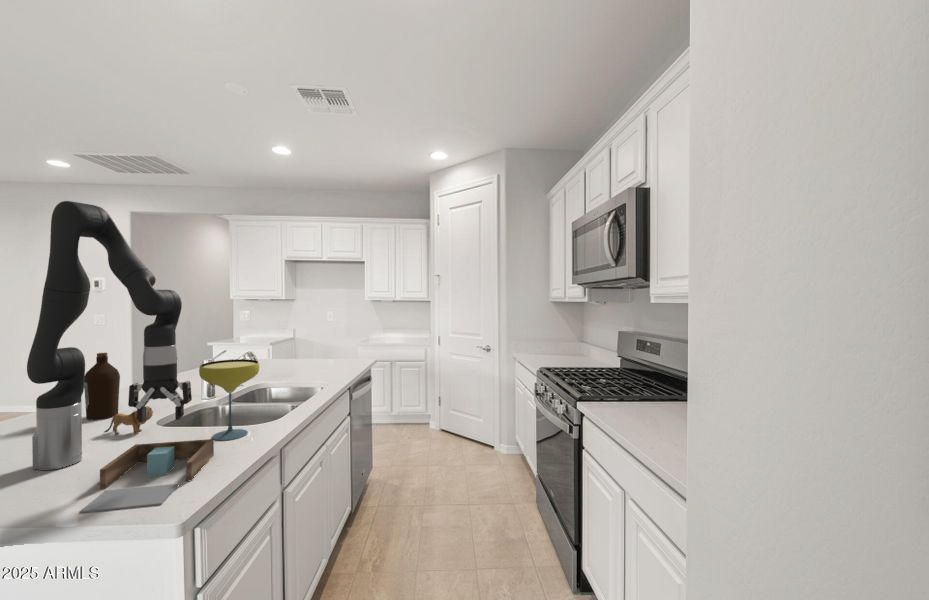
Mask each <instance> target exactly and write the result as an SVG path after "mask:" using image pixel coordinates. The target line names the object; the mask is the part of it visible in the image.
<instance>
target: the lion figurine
mask: <svg viewBox="0 0 929 600" xmlns="http://www.w3.org/2000/svg"><path fill="white" fill-rule="evenodd" d="M145 407H146V421H144V422H140V421H139V420H138V419H137V410H134V411H133V412H131V413H130V414H124V413H118V414H116V415H115V416H114V417H112V419H111V421H110V425H109V427H108V428H107V429H106V430H103V433H108V432H109V431H110V430H111V428H112V432H114V435H120V432H119V431H118V429H117V428H118V427H119V426H120V425H124V426H132V428H133V434H134V435H138V434H139V433H140V432H142V429H140V428H141V425H145V423H146V422H147V421H149V420H151V418H152V417H153V414H154V410H152V407H150V406H148V405H145Z"/></svg>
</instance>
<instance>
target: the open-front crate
mask: <svg viewBox="0 0 929 600" xmlns="http://www.w3.org/2000/svg"><path fill="white" fill-rule="evenodd" d="M214 441H215V440H214V439H212V438H209V439H208V438H207V439H196V440H184V441H183V440H182V441H168V442H152V443H140V444H134V445H133V446H132V447H130V448H128V449H127V450H126V451H124V452H123V453H121V454H120V455H118V456H117V457H116V458H114V459H113V460H112V461H110V462H108V463H107V464H106V465H104V466H103V467H101V468H100V469H99V489H100V490H106V489H107V488H109V487H110V486H111V485H112V484H113V483H115V482H116V481H117V480H119V479H120V478H121V477H123V475H124V473H125V472H126V471H127V472H129V471H130V470H131V469H132V468H133V467H135V466H136V465H137V464H140V463H139V462H141V463H147V454H149V453H150V452H151V451H153V450H154V449H155V448H159V447H173V446H174V461H176V459H178V460H187V462H186V463H185V464H186V467H185V468H186V470H185V471H186V473H185V474H186V482H188V481H187V480H192V479H193V478H194V479H195V477H196V476H197V475H198V474H199V473H200V472H201V470H202V469H203V468H204V467H205V466H206V465H207V464H208V463H209V461H210V460H211V459H212V458H213V457H214V456H215V455H214V454H215V453H214V448H215V447H214V446H215V445H214ZM211 457H212V458H211ZM187 458H190V459H187ZM210 458H211V459H210ZM209 459H210V460H209ZM135 464H136V465H135ZM205 464H206V465H205ZM134 465H135V466H134ZM204 465H205V466H204ZM203 466H204V467H203ZM202 467H203V468H202ZM130 468H131V469H130ZM201 468H202V469H201ZM129 469H130V470H129ZM199 471H200V472H199ZM127 472H126V473H127ZM198 472H199V473H198ZM126 473H125V474H126ZM197 473H198V474H197ZM196 474H197V475H196ZM195 475H196V476H195ZM120 476H121V477H120ZM194 476H195V477H194ZM119 477H120V478H119ZM194 479H193V480H194ZM193 480H192V481H193ZM114 481H115V482H114ZM109 485H110V486H109Z"/></svg>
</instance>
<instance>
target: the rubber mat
mask: <svg viewBox="0 0 929 600" xmlns="http://www.w3.org/2000/svg"><path fill="white" fill-rule="evenodd" d="M178 485H179V486H180V483H171V484H162V485H161V484H160V485H150V486H140V487H139V486H138V487H128V488H127V487H126V488H117V489H107V490H106V489H105V490H104V491H103V492H102V493H101V494H99V495H98V496H97V497H96V498H94V499H93V500H92V501H91V502H89V503H88V504H87V505H85V506H84V507H83V508H82V509H81V510H79V512H78V513H79V514H83V513H84V514H85V513H95V512H103V511H113V510H114V511H115V510H123V509H132V508H133V509H134V508H142V507H152V506H161V505H163V504H164V502H165V501H166V500H167V499H168V498H169V497H170V496H171V495H172V493H173V492H174V491H175V490H176V489H177V488H178V487H179V486H178Z"/></svg>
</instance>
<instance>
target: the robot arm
mask: <svg viewBox="0 0 929 600" xmlns="http://www.w3.org/2000/svg"><path fill="white" fill-rule="evenodd" d="M50 218H51V220H50V237H49V238H50V242H49V243H50V244H49V257H48V265H47V272H46V275H45V276H46V277H45V282H44V286H43V290H42V291H43V292H42V298H41V305H40V312H39V318H38V323H37V327H36V331H35V334H34V335H35V336H34V338H33V341H32V344H31V348H30V350H29V354H28V357H27V362H26V373H27V376H28V377H27V378H28V379H29V381H30V382H32V383H34V384H37V385H40V384H49V383H54V382H57V383H56V384H55V385H54V387H53V388H51V389H50V390H47V391H46V392H44V393H42V394H41V395H38V397H37V398H36V401H35V405H36V406H35V409H36V412H35V413H36V414H35V415H36V417H35V418H36V420H35V421H36V433H34V434H33V435H32V437H31V438H32V440H31V441H32V442H31V443H32V444H31V447H32V449H31V450H32V453H31V454H32V470H38V471H39V470H40V471H51V470H57V469H63V468H66V466H67V467H70V466H73V465H76V464H78V463H79V461H80V460H81V459H82V460H83V448H82V447H83V438H82V436H83V434H82V432H83V431H82V430H83V427H82V426H83V424H82V423H83V422H82V421H83V420H82V417H83V416H82V414H83V413H82V398H83V397H82V396H83V394H84V392H85V390H84V378H85V374H86V360H85V356H84V353H83V352H82V350H81V349H79V348H77V347H75V346H74V347H71V346H70V347H69V346H68V347H60V348H58V347H59V344H60V341H61V339H62V337H63V336H64V334H65V332H66V331H67V330H68V329H69V328H70V327H71V326H72V325H73V324H74V323H75V322H76V321H77V320H78V319H79V317H81V315H82V314H83V313H84V311H85V310H86V308H87V306H88V303H89V297H90V292H91V281H90V279H89V277H88V274H87V272H86V270H85V269H84V267H83V265H82V263H81V261H80V258H79V243H80V240H81V239H80V238H81V237H83V238H90V239H91V238H93V239H94V240H95V241H96V242H98V243H99V244H101V246H103V247H104V249H105V250H106V253H107V262H108V266H109V268H110V270H111V272H112V274H113V275H114V276H115V277H116V278H117V279H118V280H119V282H120V283H121V284H122V285H123V286H124V287H125V288H126V289H127V291H128V294H129V296H130V298H131V301H132V303H133V305H134V307H135V308H136V309H137V310H138V311H139V312H140V313H142V315H143V314H144V315H145V316H150V317H151V316H155V319H154V322H153V323H150V324H148V325H146V326H145V328H143V329H144V330H143V354H142V374H143V375H142V379H143V383H140V384H139V382H134V383H133V384H131V385H129V388H128V403H127V404H128V407H130V408H136V411H137V419H138V420H139V421H140V422H144V421H146V407H145V406H147V404H148V403H149V402H150V401H151V400H157V399H159V400H161V399H162V400H166V399H169V401H170V402H172V403H173V404H175V408H174V409H175V411H174V412H175V416H174V417H175V418H174V419H175V421H177V420H178V421H179V420H180V419H182V417H184V413H185V409H184V407H185V405H187V404H189V403H190V402H191V401H192V400H193V399H192V384H191V381H190V380H185V381H181V382H179V381H178V352H177V346H176V343H177V342H176V334H177V333H176V330H177V326H178V323H179V319H180V316H181V313H182V308H183V307H182V306H183V305H182V299H181V297H180V294H179V293H178V292H176V291H175V290H174V289H173V290H171V289H155V288H154V287H153V286H155V284H156V281H157V279H156V277H155V275H154V274H153V272H152V271H151V270H150V269H149V268H148V267H147V266H146V265H145V264H144V263H143V262H142V260H140V258H139V257H138V256H137V254H136V253H135V252H134V251H133V249H132V248H131V247H130V245H129V244H128V242H127V240H126V239H125V238H124V236H123V234H122V233H121V231H120V229H119V227H118V226H117V225H116V223H115V222H114V220H113V218H112V217H111V215H110V214H109V212H107V211H106V209H104V208H103V207H101V206H98V205H94V204H91V203H90V204H89V203H83V202H78V201H72V200H63V201H61V202H58V203H57V204H56V206H55V207H54V208H53V211H52V214H51V217H50ZM178 388H179V389H180V390H181V391H182V397H181V395H180V393H179V392H178V391H177V389H178ZM141 390H142V391H144V393H145V394H144V395H143V396H142V398H141V399H140V401H139V397H140V396H139V395H140V394H139V392H141ZM146 422H147V421H146ZM82 460H81V461H82ZM81 461H80V462H81ZM77 462H78V463H77ZM75 463H76V464H75ZM72 464H73V465H72ZM69 465H70V466H69ZM62 467H63V468H62Z"/></svg>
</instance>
